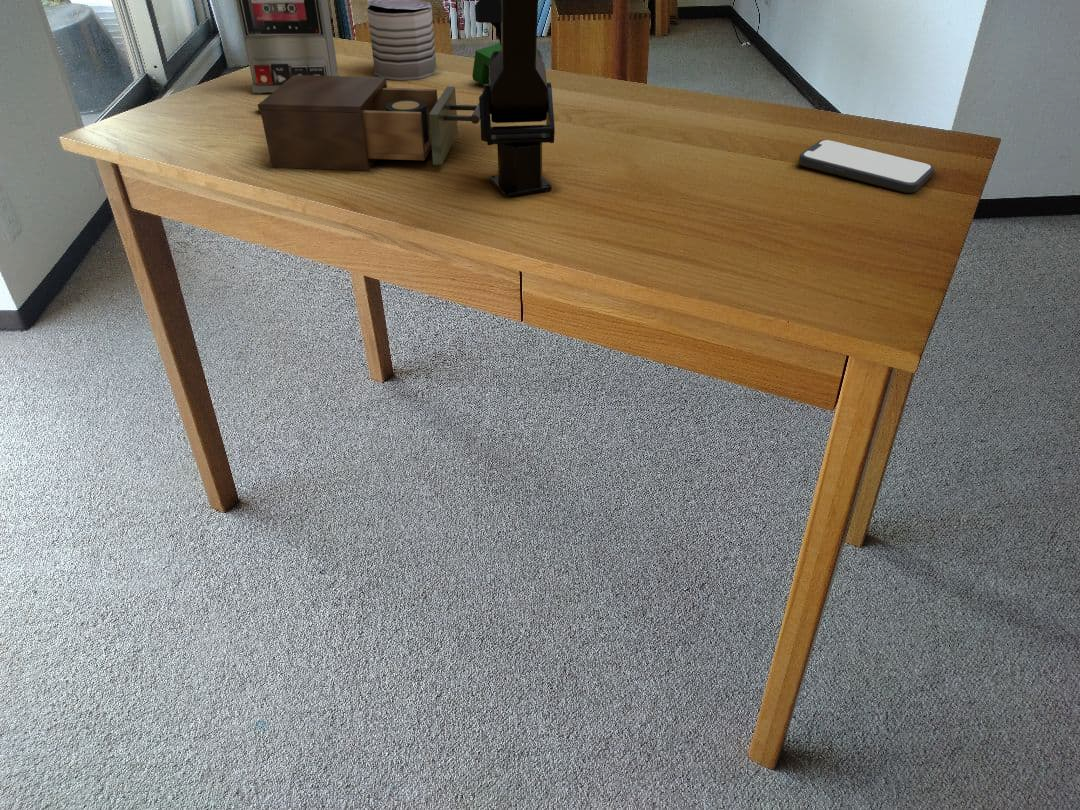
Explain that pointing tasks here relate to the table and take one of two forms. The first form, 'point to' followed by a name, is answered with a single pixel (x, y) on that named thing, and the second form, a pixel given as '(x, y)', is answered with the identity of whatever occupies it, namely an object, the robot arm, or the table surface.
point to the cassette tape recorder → (286, 40)
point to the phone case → (867, 166)
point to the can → (402, 39)
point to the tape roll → (411, 107)
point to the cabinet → (319, 122)
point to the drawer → (414, 124)
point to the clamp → (484, 63)
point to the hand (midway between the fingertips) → (510, 64)
